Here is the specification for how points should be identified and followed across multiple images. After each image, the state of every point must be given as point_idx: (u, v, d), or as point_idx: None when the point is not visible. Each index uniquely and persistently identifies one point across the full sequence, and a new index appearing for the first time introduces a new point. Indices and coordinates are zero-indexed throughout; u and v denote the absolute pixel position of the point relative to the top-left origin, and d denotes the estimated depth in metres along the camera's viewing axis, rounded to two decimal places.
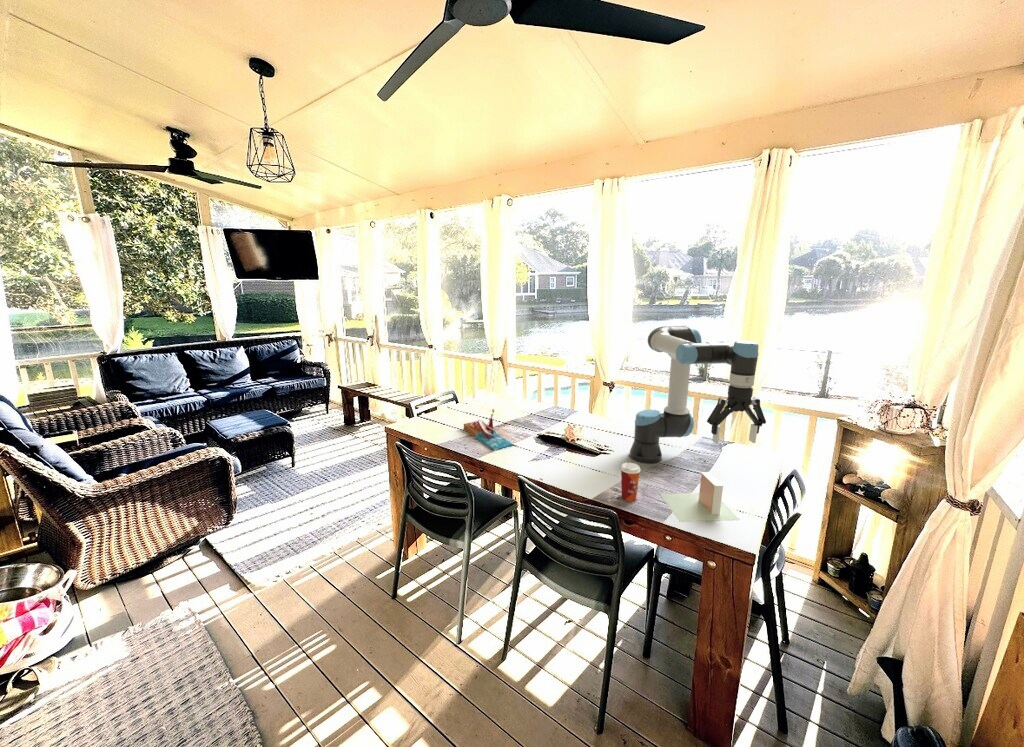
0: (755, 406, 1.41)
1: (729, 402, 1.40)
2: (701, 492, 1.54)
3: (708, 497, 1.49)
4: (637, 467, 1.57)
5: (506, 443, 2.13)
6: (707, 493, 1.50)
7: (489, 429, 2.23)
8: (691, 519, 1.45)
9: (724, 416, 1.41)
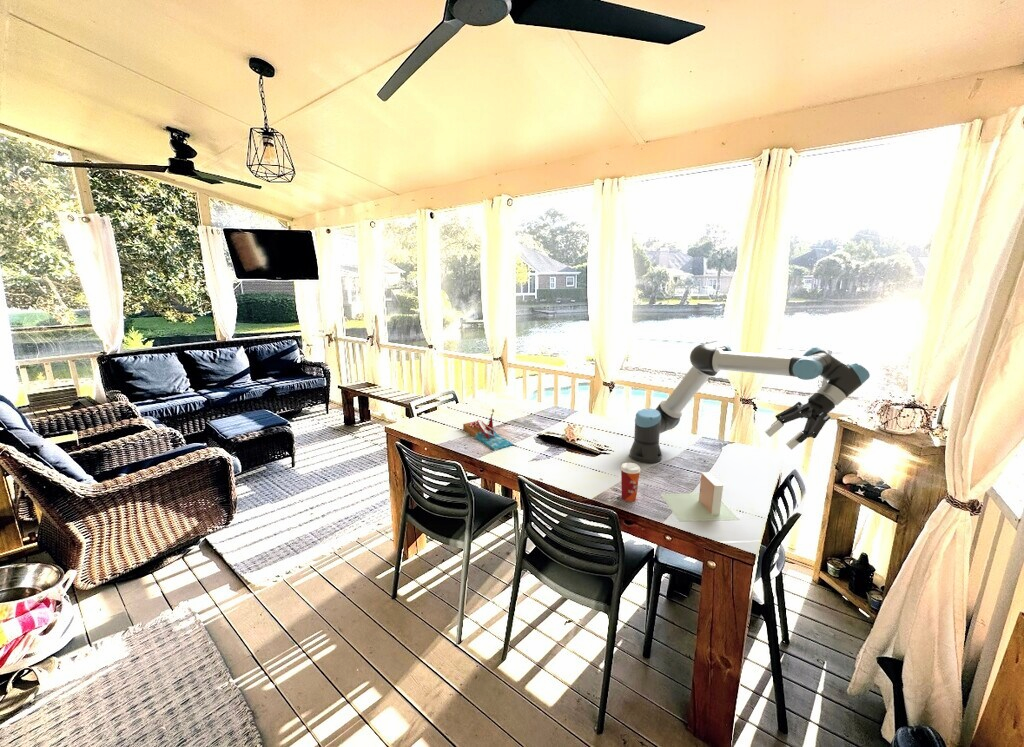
0: (796, 410, 1.50)
1: None
2: (701, 492, 1.54)
3: (708, 497, 1.49)
4: (637, 467, 1.57)
5: (506, 443, 2.14)
6: (707, 493, 1.50)
7: (489, 429, 2.23)
8: (691, 519, 1.45)
9: None
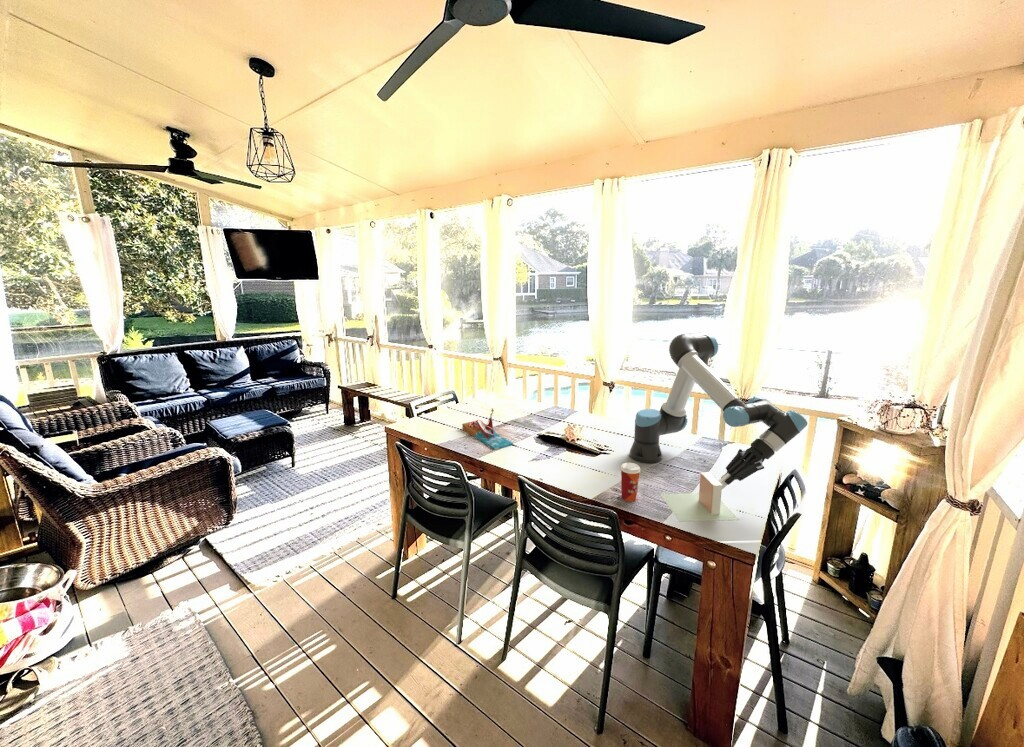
0: (741, 457, 1.52)
1: None
2: (701, 492, 1.54)
3: (708, 497, 1.49)
4: (637, 467, 1.57)
5: (506, 442, 2.15)
6: (706, 493, 1.50)
7: (489, 428, 2.24)
8: (691, 519, 1.45)
9: None
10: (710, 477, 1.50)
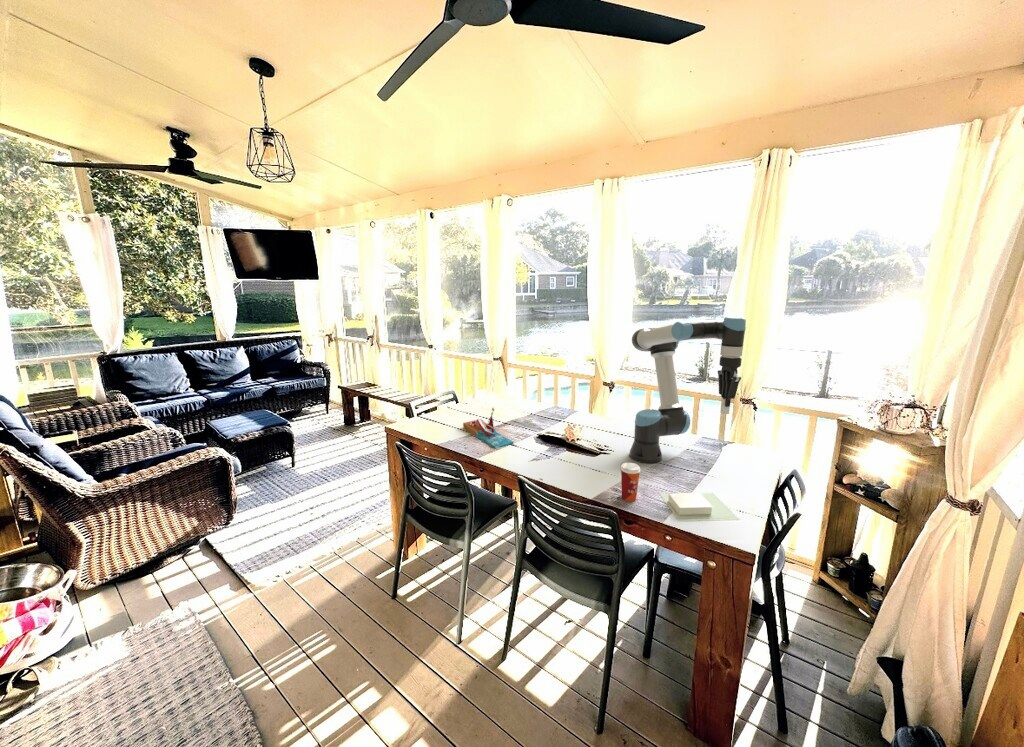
0: None
1: (736, 374, 1.55)
2: None
3: None
4: (637, 467, 1.57)
5: (507, 441, 2.16)
6: None
7: (489, 427, 2.26)
8: (691, 519, 1.45)
9: None
10: (672, 502, 1.52)
